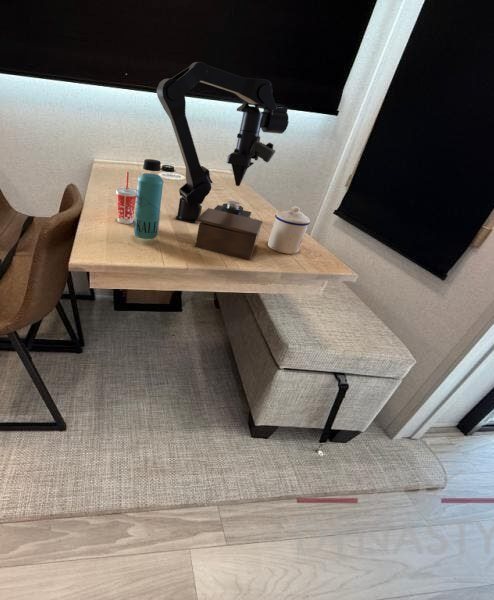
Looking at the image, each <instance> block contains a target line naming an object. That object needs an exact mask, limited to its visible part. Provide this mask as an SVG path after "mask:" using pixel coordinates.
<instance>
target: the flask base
mask: <svg viewBox="0 0 494 600" xmlns="http://www.w3.org/2000/svg"><path fill="white" fill-rule="evenodd" d="M227 204H228V202H226V203H223V204H222V205H221V204H217V205H216V206H215V207H214V208H213V209H215V210H219V211H223V212H227V213H231V214H235V215H239V216H244V217H248V218H251V216H252V211H249V210H244V207H243V206H242V205H239V209H233V208H229V207H227Z"/></svg>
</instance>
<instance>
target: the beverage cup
mask: <svg viewBox="0 0 494 600" xmlns="http://www.w3.org/2000/svg"><path fill="white" fill-rule="evenodd" d="M129 173H130V172H129V171H126V184H125V185H126V186H125V187H118V188H116V190H115V192H116V208H117V209H116V211H117V213H116V214H117V222H118V223H120V224H125V225H127V224H133V223H134V218H135V210H136V199H137V197H136V196H137V193H136V192H137V189H135V188H130V187H129V175H130V174H129Z"/></svg>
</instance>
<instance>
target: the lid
mask: <svg viewBox="0 0 494 600" xmlns="http://www.w3.org/2000/svg"><path fill="white" fill-rule="evenodd" d="M196 222H197V223H200V222H202V223H206V224H210V225H214V226H218V227H222V228H226V229H229V230H233V231H237V232H241V233H245V234H249V235H253V236H257V234H258V231H259V229H260V230H261V228H260V227H262V225H263V220H260V219H256V218H251V217H250V218H248V217H244V216H239V215H235V214H231V213H227V212H223V211H219V210H215V209H214V208H210V207H208V208H206V210H204V211H203V212H202V213H201V215H200V216H199V217H198V218H197V221H196ZM261 224H262V225H261Z"/></svg>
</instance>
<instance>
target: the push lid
mask: <svg viewBox="0 0 494 600" xmlns="http://www.w3.org/2000/svg"><path fill="white" fill-rule="evenodd" d="M227 203H228V204H227V207H229V208H233V209H239V206H241V203H240V202H239V201H235V200H228V201H227Z"/></svg>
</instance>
